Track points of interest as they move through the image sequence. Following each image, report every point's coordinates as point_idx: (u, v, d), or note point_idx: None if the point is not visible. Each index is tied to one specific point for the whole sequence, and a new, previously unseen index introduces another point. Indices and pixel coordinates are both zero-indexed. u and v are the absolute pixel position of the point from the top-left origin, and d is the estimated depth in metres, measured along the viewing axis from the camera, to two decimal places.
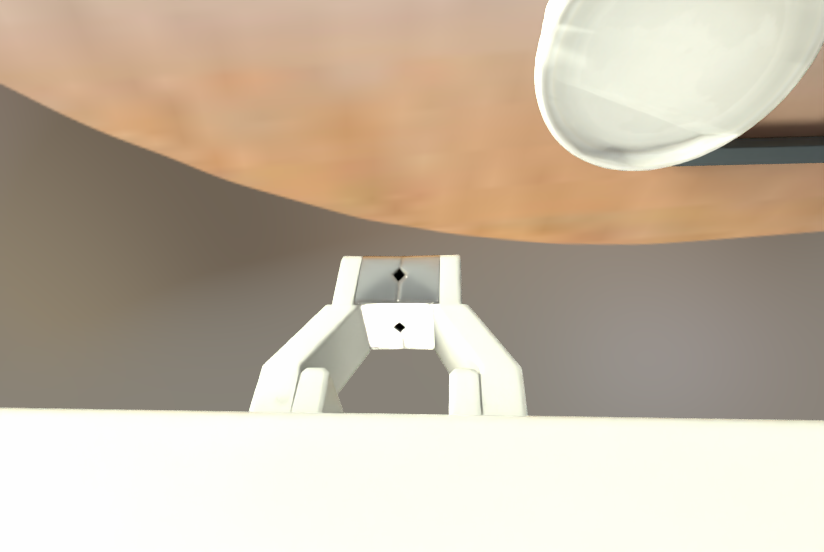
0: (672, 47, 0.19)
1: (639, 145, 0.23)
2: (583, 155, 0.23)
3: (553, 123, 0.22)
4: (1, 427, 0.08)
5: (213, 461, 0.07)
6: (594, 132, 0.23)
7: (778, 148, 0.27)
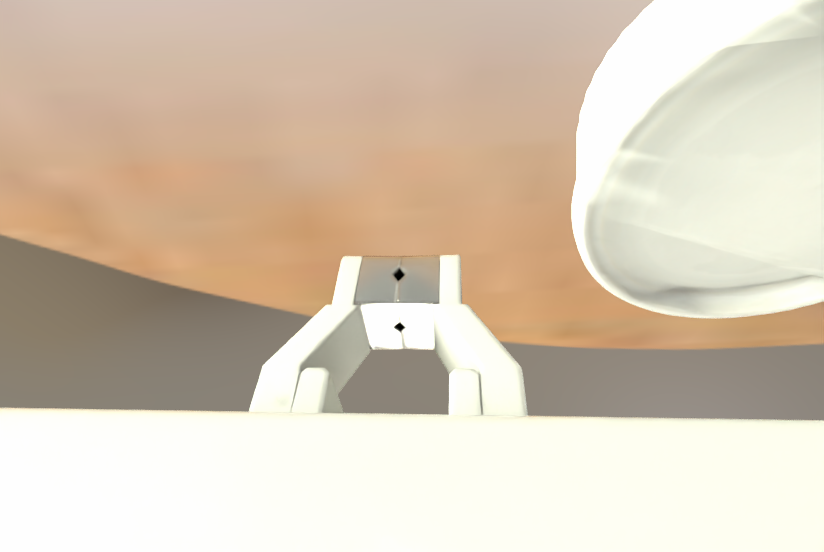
0: (797, 181, 0.12)
1: (716, 285, 0.16)
2: (637, 301, 0.16)
3: (598, 266, 0.15)
4: (1, 428, 0.08)
5: (213, 461, 0.07)
6: (655, 273, 0.16)
7: None
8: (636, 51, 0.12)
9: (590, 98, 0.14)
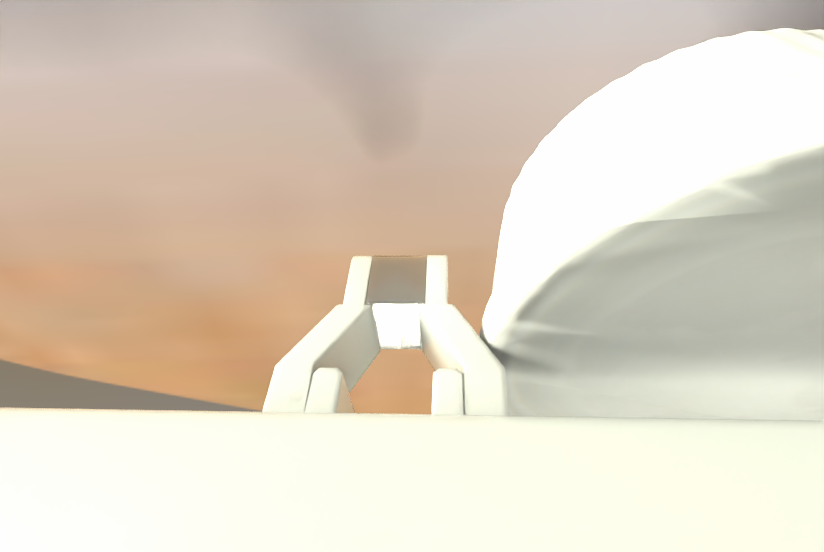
0: (756, 353, 0.09)
1: None
2: None
3: None
4: (0, 427, 0.08)
5: (213, 461, 0.07)
6: None
7: None
8: (545, 182, 0.10)
9: (506, 218, 0.12)
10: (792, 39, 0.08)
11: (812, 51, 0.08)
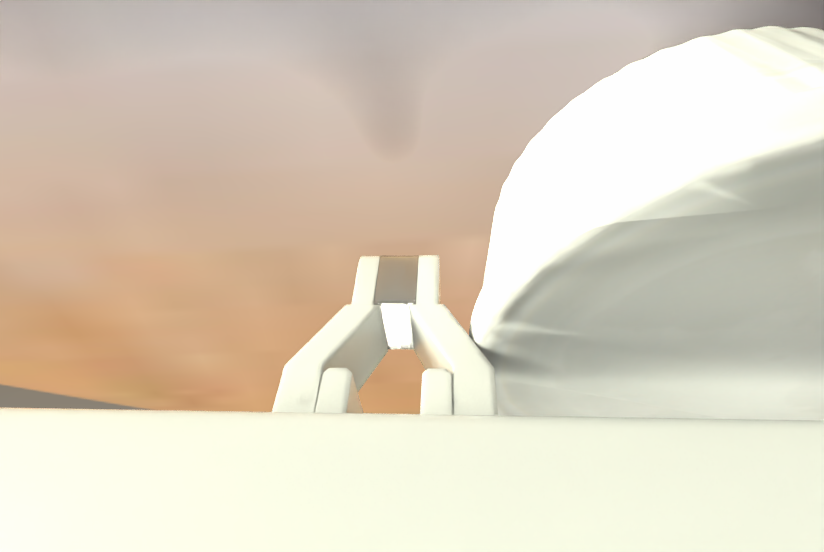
0: (744, 353, 0.09)
1: None
2: None
3: None
4: (1, 427, 0.08)
5: (213, 461, 0.07)
6: None
7: None
8: (532, 183, 0.10)
9: (496, 218, 0.12)
10: (777, 37, 0.08)
11: (795, 49, 0.08)
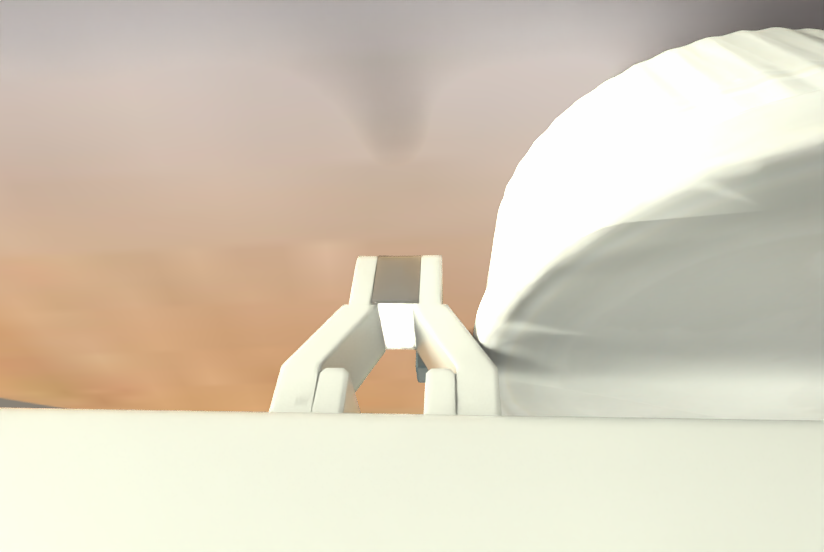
0: (748, 353, 0.09)
1: None
2: None
3: None
4: (1, 427, 0.08)
5: (213, 461, 0.07)
6: None
7: None
8: (537, 183, 0.10)
9: (500, 218, 0.12)
10: (782, 38, 0.08)
11: (802, 50, 0.08)
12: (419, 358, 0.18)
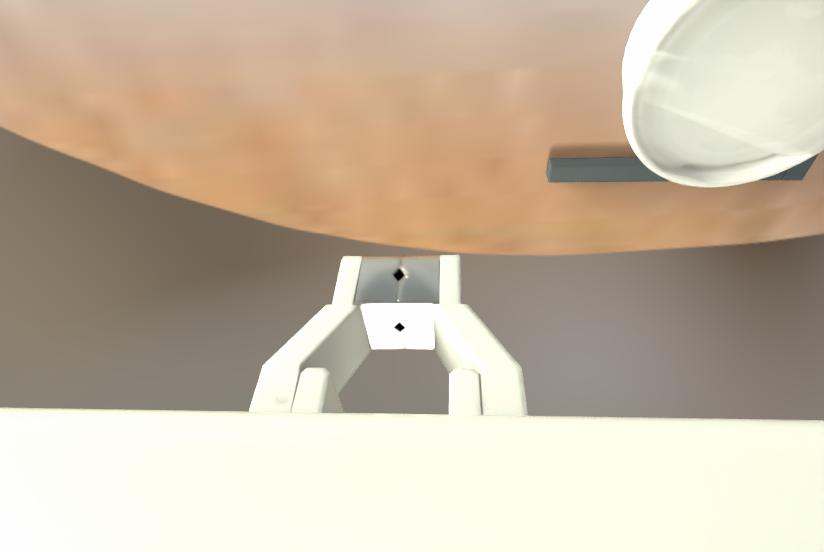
0: (760, 73, 0.21)
1: (714, 163, 0.25)
2: (662, 171, 0.25)
3: (638, 141, 0.23)
4: (0, 427, 0.08)
5: (213, 461, 0.07)
6: (673, 150, 0.24)
7: None
8: None
9: (634, 35, 0.23)
10: None
11: None
12: (552, 163, 0.30)
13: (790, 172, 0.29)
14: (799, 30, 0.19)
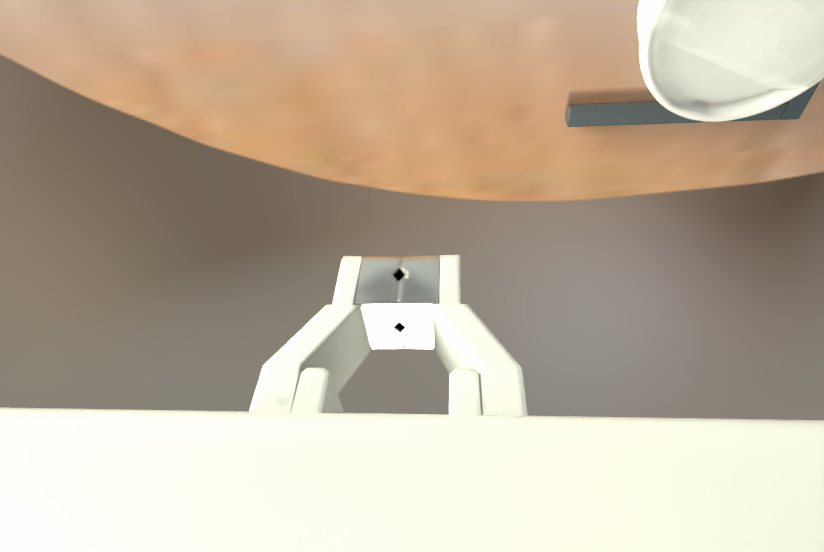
0: (762, 10, 0.23)
1: (720, 99, 0.28)
2: (673, 107, 0.27)
3: (653, 78, 0.26)
4: (0, 427, 0.08)
5: (213, 461, 0.07)
6: (684, 87, 0.27)
7: (665, 109, 0.32)
8: None
9: None
10: None
11: None
12: (571, 108, 0.32)
13: (788, 111, 0.32)
14: None
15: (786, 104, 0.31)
